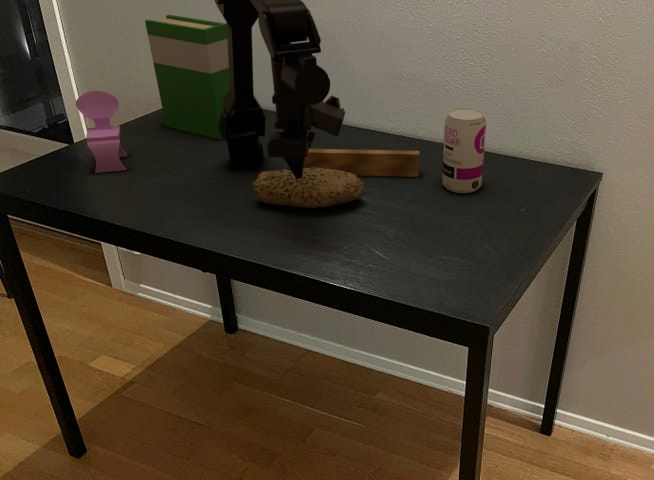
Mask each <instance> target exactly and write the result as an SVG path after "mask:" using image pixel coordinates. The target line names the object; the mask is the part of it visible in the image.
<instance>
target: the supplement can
mask: <svg viewBox="0 0 654 480" xmlns="http://www.w3.org/2000/svg"><path fill="white" fill-rule="evenodd" d="M484 115H485V114H484V112H483V111H481V110H479V109H475V108H469V107H463V108H462V107H461V108H454V109H451V110H449V111H448V113H447V115H446V116H445V119H444V127H443V128H444V129H443V130H444V131H443V151H442V152H443V153H442V155H443V156H442V179H441V180H442V182H441V183H442V185H443V186H444V187H445V189H446V190H448V191H450V192H451V193H452V192H453V193H455V194H456V193H458V194H469V193H473V192H476V191H478V190H479V189H480V188H481V187H482V185H483V183H482V182H483V171H484V159H485V158H484V157H485V145H486V144H485V143H486V131H487V130H486V129H487V120H486V118H485V116H484Z"/></svg>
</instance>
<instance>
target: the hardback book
mask: <svg viewBox="0 0 654 480" xmlns="http://www.w3.org/2000/svg"><path fill="white" fill-rule="evenodd" d="M144 23H145V29H146V34H147V38H148V45H149V48H150V53H151V59H152V65H153V68H154V73H155V79H156V83H157V88H158V93H159V94H158V95H159V99H160V103H161V108H162V113H163V114H162V115H163V119H164V123H165V127H166V128H171V129H175V130H180V131H184V132H188V133H191V134H196V135H200V136H205V137H208V138H211V139H212V138H213V139H217V140H224V138H223V137H222V136H221V134H220V130H219V121H220V115H221V112H223V99H224V98H225V96H226V95H227V93H228V92H229V90H230V80H229V61H228V43H227V25H226V22H225V23H224V22H218V21H212V20H206V19H199V18H193V17H187V16H181V15H174V14H166V15H165V19H161V20H153V19H146V20H145V19H144Z"/></svg>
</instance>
